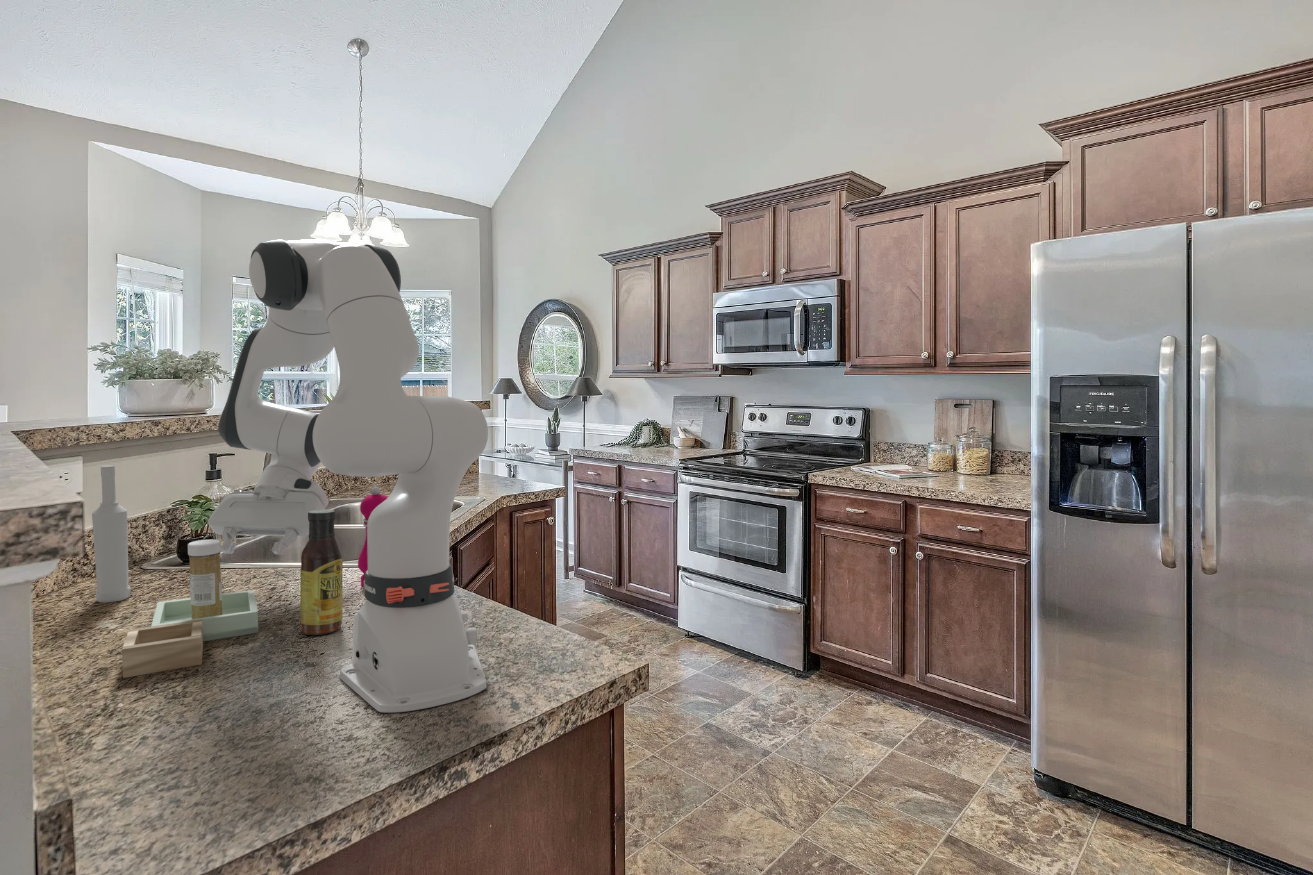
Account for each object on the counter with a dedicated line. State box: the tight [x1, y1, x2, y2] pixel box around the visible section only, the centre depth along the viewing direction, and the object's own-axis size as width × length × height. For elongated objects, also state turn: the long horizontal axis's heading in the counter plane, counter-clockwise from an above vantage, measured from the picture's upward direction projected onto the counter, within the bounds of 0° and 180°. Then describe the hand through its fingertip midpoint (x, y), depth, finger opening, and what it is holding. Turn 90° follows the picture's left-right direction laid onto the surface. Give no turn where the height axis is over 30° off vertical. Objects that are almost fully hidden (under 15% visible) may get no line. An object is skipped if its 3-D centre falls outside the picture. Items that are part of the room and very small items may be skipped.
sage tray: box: [150, 589, 259, 642], centre depth 113 cm, size 14×14×4 cm
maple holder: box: [121, 619, 204, 679], centre depth 100 cm, size 9×9×4 cm
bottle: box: [91, 465, 131, 604], centre depth 127 cm, size 5×5×25 cm
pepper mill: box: [357, 486, 389, 588], centre depth 139 cm, size 7×7×20 cm
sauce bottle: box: [299, 509, 344, 636], centre depth 112 cm, size 6×6×20 cm
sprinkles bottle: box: [187, 538, 223, 619], centre depth 113 cm, size 5×5×14 cm
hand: (251, 552), depth 125 cm, fingers open, 8 cm apart
